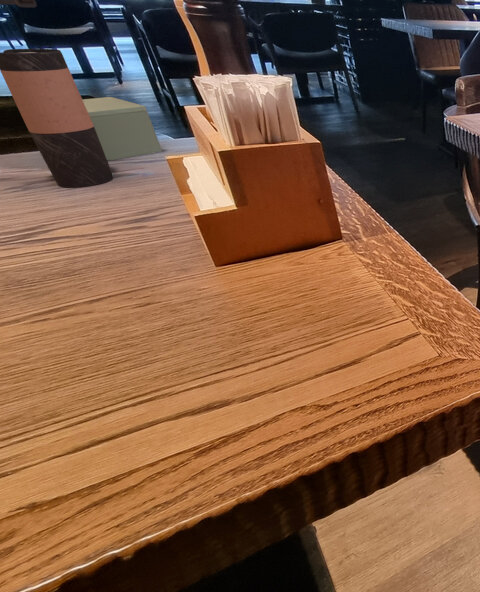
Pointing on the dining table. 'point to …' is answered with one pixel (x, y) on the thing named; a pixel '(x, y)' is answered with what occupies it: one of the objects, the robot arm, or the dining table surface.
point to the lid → (110, 106)
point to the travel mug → (55, 116)
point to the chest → (126, 134)
